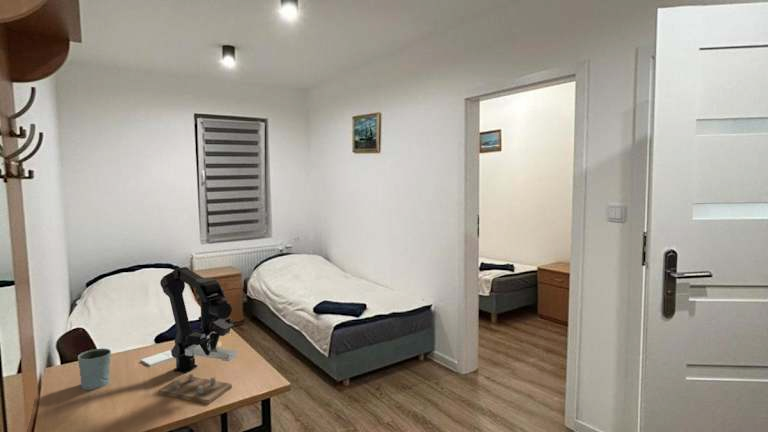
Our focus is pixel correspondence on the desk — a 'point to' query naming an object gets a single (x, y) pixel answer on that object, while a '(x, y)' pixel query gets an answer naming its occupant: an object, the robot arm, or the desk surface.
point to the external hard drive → (158, 358)
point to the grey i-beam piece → (211, 353)
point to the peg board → (195, 389)
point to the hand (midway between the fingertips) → (210, 353)
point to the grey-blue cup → (94, 368)
